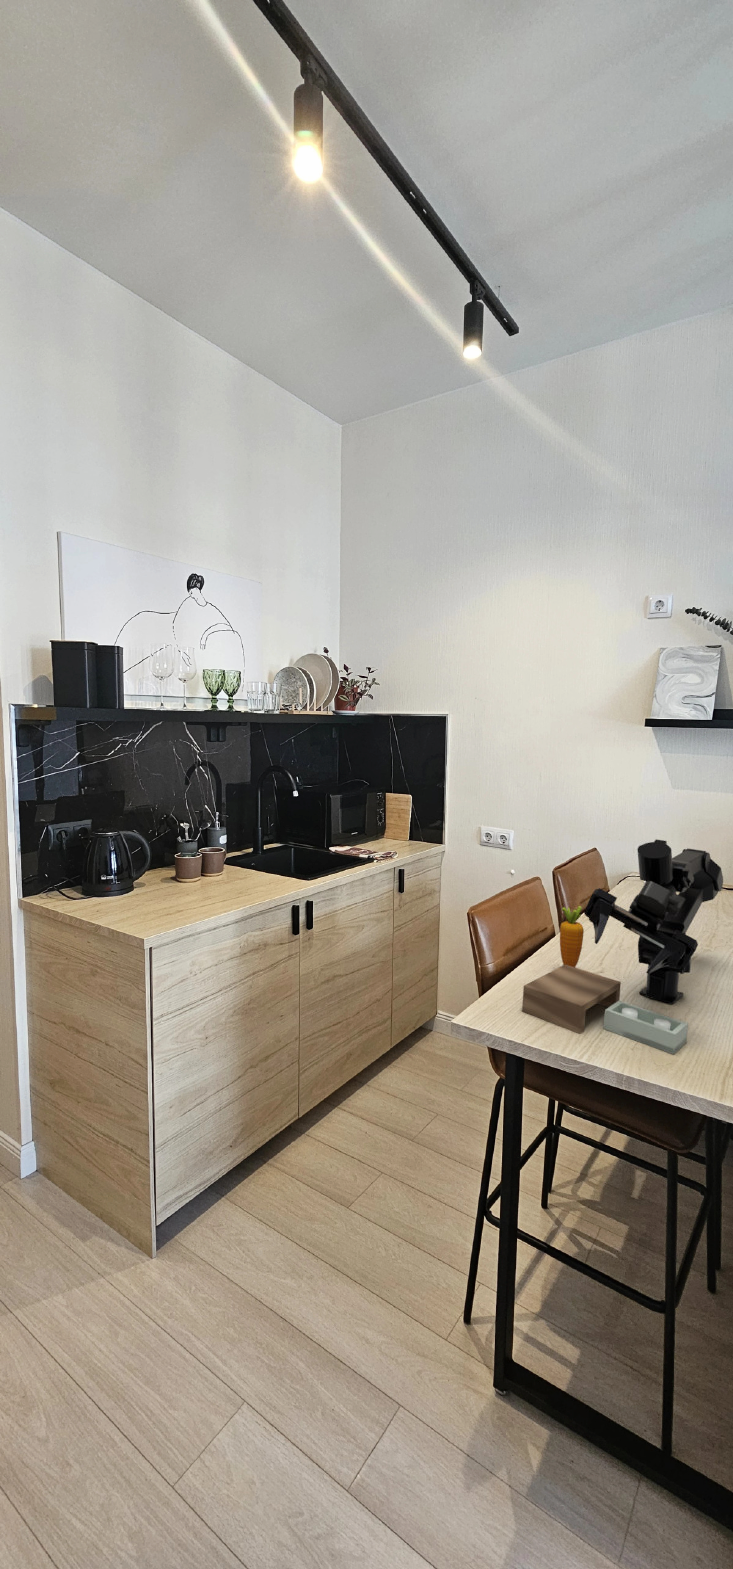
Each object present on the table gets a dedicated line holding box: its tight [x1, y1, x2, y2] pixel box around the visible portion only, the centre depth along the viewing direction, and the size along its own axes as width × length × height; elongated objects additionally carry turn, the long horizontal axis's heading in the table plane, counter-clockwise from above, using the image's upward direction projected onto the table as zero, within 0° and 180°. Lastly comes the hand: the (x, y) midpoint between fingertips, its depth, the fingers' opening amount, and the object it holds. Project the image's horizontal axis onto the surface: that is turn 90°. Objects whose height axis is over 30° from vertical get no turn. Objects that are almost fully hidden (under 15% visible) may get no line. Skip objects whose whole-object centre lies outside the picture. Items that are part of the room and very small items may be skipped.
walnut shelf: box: [521, 964, 622, 1034], centre depth 125 cm, size 16×12×5 cm
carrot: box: [559, 905, 585, 968], centre depth 141 cm, size 5×5×15 cm
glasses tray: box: [603, 999, 689, 1055], centre depth 115 cm, size 6×12×4 cm, turn 46°
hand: (621, 956), depth 112 cm, fingers open, 9 cm apart
